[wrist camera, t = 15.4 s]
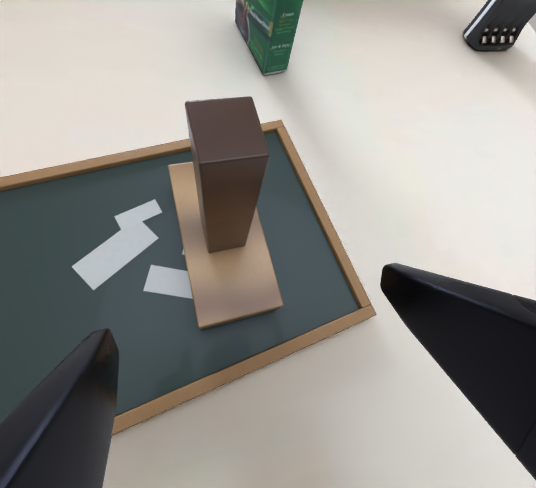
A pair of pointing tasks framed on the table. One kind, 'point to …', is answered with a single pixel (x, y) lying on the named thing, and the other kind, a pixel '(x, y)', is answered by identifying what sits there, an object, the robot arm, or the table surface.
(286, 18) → the coffee box
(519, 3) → the battery charger
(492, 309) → the robot arm
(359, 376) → the table surface
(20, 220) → the slate board
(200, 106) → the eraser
